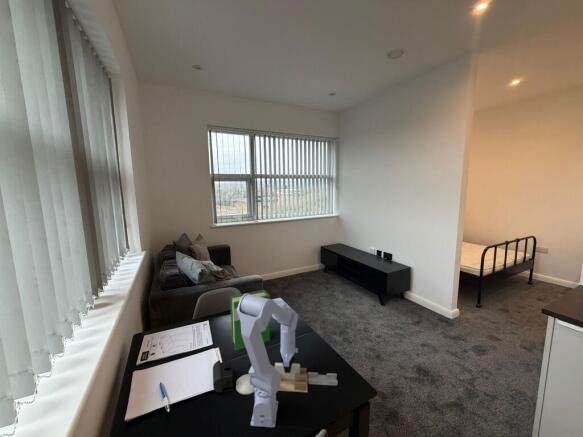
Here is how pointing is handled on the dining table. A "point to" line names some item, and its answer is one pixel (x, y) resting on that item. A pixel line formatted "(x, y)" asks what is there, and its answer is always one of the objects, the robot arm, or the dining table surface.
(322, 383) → the plate stand
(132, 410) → the dining table surface
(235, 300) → the hardback book
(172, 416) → the dining table surface
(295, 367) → the white curved panel
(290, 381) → the dish rack
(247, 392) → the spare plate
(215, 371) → the end cap
